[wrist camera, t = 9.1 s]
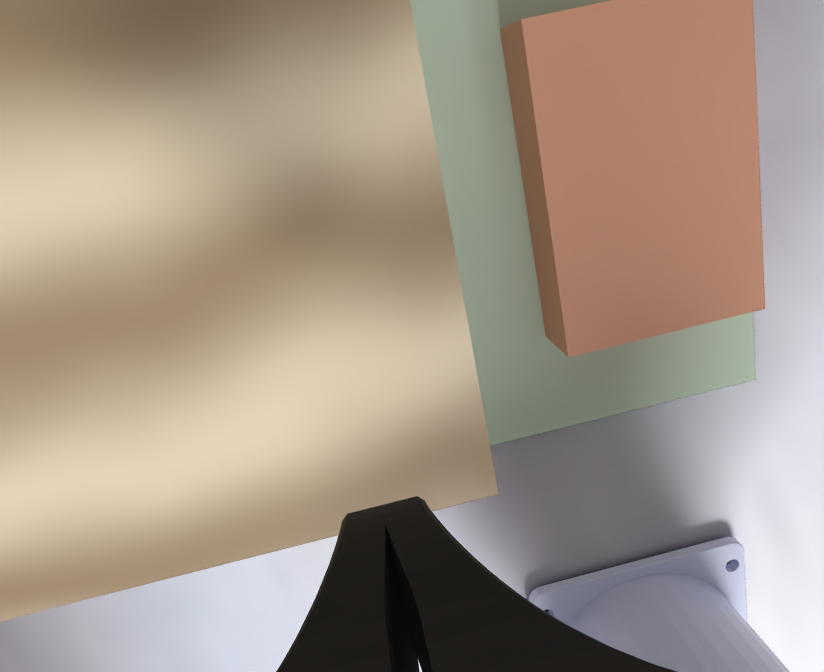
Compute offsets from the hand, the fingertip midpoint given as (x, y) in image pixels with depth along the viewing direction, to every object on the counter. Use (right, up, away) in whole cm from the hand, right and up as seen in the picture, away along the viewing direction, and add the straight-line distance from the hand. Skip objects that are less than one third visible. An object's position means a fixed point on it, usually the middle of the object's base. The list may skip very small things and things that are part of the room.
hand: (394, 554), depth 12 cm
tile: (+7, +8, +7) cm, 13 cm away
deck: (-7, +5, +8) cm, 12 cm away
